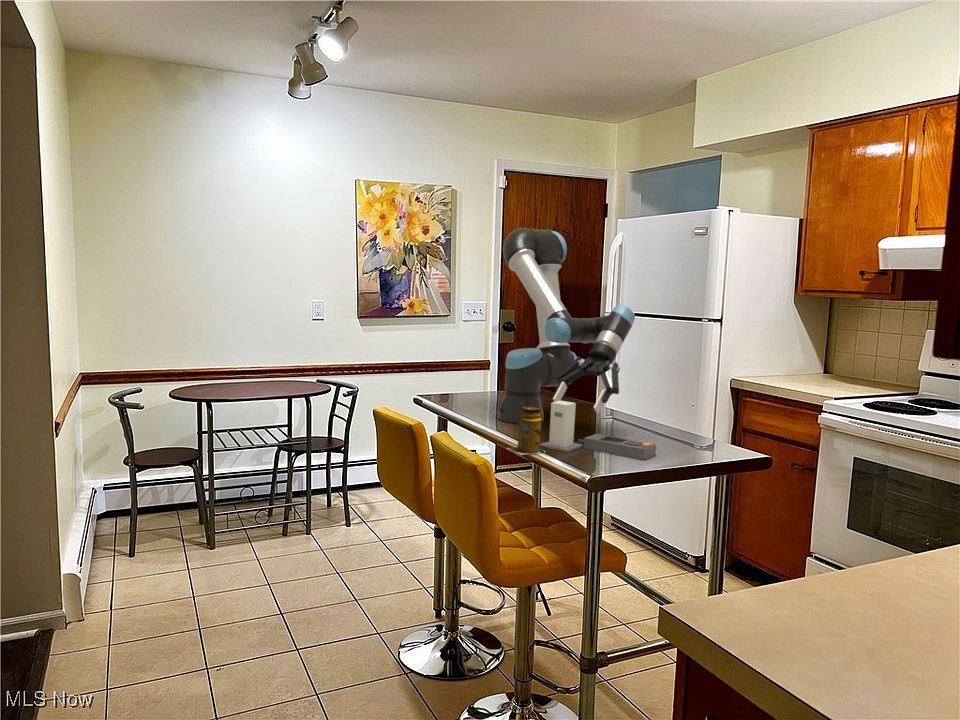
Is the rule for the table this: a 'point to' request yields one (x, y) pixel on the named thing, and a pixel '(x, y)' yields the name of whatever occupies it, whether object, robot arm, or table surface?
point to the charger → (562, 423)
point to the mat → (566, 449)
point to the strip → (619, 446)
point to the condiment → (528, 431)
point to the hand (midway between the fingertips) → (575, 406)
